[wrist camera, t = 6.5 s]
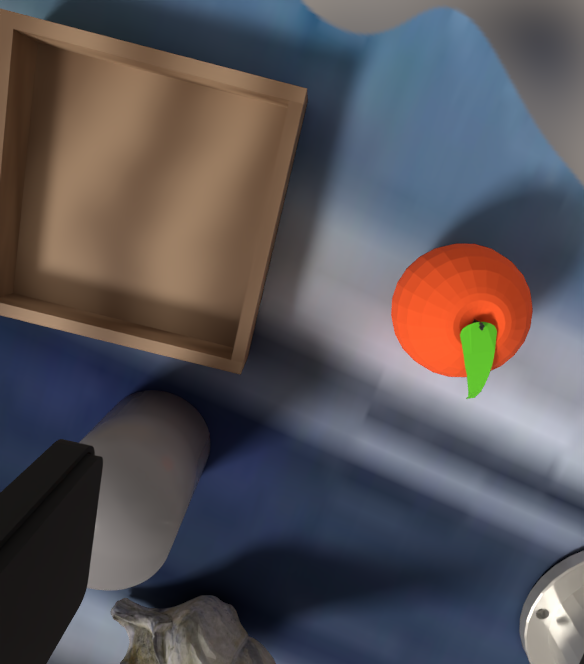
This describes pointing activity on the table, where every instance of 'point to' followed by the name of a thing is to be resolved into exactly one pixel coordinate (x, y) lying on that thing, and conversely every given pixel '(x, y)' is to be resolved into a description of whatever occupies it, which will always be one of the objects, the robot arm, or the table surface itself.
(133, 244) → the walnut tray
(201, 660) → the seashell
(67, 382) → the table surface
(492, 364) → the clementine
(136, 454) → the grey rounded cylinder
